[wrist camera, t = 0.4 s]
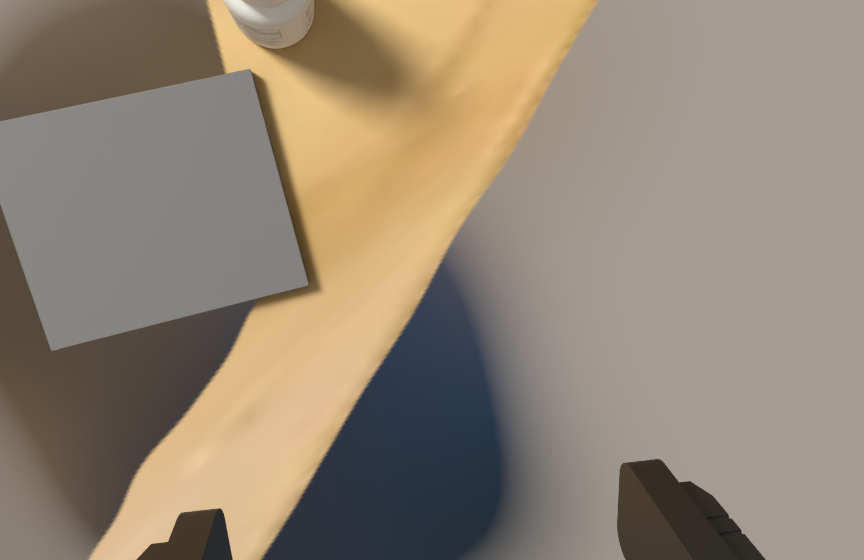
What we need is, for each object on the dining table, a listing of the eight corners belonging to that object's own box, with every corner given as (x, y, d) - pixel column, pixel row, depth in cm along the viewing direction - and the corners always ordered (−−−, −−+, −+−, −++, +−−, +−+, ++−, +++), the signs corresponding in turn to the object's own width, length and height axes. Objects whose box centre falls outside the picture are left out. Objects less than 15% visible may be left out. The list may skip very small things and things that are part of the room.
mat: (-19, 128, 33) (-27, 126, 33) (251, 71, 35) (250, 68, 34) (57, 347, 35) (51, 350, 35) (308, 283, 37) (308, 285, 36)
